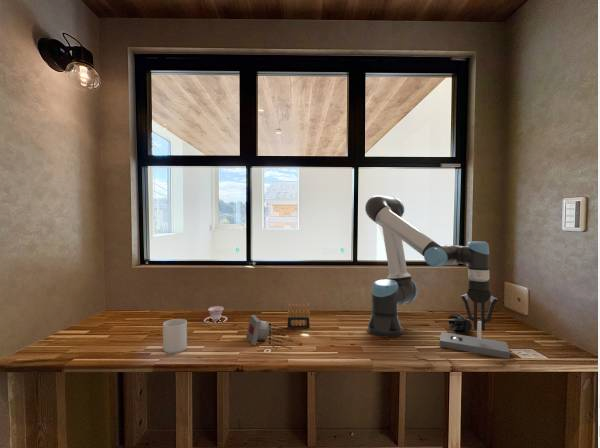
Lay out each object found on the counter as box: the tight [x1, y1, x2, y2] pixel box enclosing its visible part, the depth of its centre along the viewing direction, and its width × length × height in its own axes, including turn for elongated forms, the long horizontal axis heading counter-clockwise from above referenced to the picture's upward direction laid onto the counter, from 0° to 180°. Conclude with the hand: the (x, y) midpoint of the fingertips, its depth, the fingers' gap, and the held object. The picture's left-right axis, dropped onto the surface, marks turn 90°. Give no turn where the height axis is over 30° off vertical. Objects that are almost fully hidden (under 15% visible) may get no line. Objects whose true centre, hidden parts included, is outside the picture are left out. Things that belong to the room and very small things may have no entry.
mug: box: [162, 318, 188, 355], centre depth 125 cm, size 12×9×11 cm
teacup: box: [203, 305, 228, 325], centre depth 160 cm, size 12×12×6 cm
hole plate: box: [439, 331, 511, 360], centre depth 127 cm, size 24×11×2 cm, turn 62°
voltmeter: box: [245, 314, 296, 350], centre depth 130 cm, size 27×11×10 cm, turn 59°
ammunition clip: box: [286, 302, 311, 329], centre depth 150 cm, size 11×2×12 cm, turn 89°
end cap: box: [448, 312, 473, 335], centre depth 147 cm, size 10×7×7 cm
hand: (479, 337), depth 125 cm, fingers closed
